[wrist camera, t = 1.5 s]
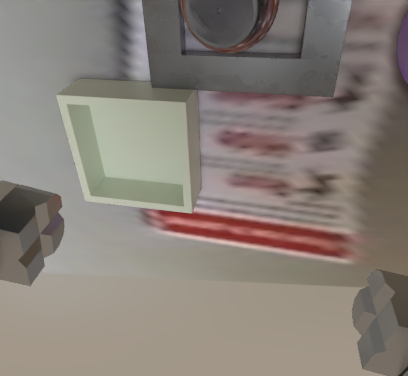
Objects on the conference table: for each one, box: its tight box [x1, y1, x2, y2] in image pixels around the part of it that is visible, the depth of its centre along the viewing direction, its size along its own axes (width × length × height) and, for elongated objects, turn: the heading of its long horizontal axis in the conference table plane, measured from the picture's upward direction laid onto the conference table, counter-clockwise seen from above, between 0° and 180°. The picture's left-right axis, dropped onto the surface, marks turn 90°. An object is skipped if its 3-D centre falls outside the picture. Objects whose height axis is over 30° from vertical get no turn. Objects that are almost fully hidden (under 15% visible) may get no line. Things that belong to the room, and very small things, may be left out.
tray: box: [56, 78, 201, 213], centre depth 36 cm, size 12×12×4 cm
